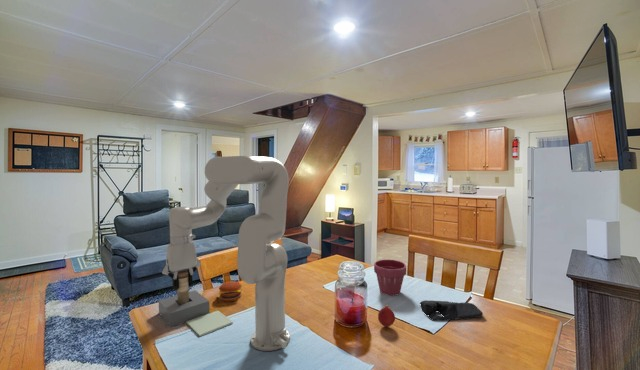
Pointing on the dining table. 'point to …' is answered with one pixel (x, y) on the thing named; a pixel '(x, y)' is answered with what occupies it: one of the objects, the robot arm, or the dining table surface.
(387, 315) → the onion
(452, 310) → the black pouch
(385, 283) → the plant pot
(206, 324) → the coaster
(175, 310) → the socket block
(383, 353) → the dining table surface
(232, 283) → the hamburger
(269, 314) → the robot arm
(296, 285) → the dining table surface
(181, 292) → the plug
